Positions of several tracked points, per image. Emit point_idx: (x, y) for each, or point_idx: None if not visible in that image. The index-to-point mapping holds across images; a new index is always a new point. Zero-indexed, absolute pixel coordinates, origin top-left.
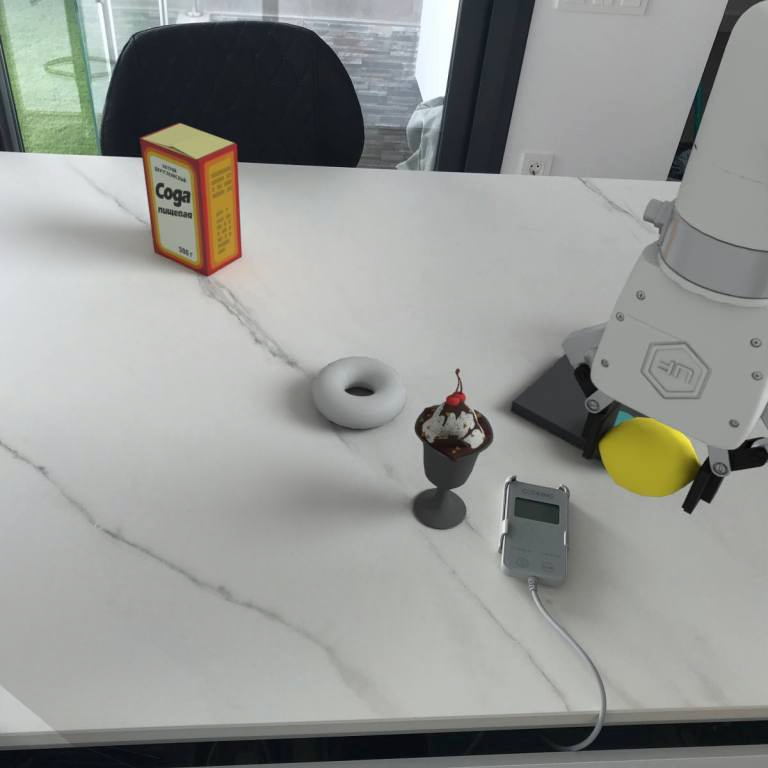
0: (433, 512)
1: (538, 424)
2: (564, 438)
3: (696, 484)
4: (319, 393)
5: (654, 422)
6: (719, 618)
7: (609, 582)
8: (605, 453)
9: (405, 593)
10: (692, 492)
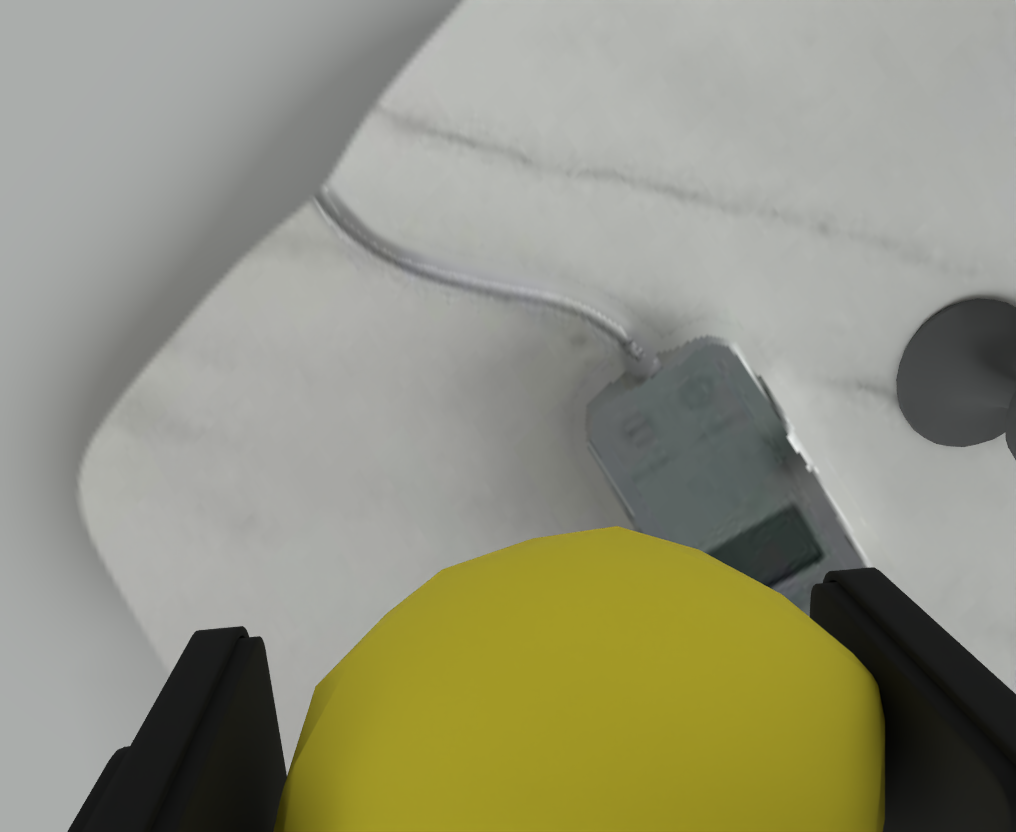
0: (981, 339)
1: None
2: None
3: (161, 777)
4: None
5: None
6: (242, 607)
7: (494, 504)
8: (798, 620)
9: (889, 68)
10: (190, 722)
